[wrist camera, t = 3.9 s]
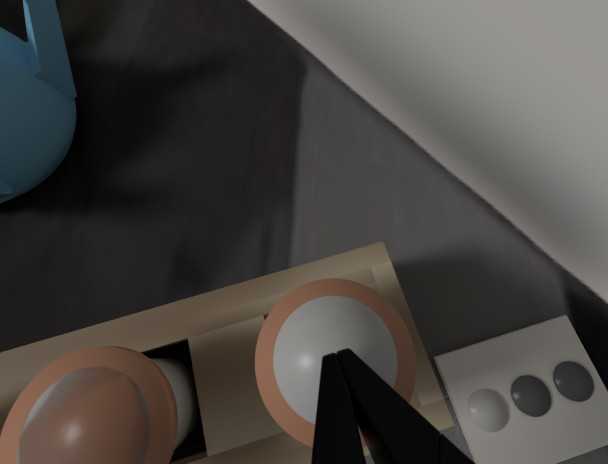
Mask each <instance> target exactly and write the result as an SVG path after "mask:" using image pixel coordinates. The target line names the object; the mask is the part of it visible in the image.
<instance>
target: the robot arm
mask: <svg viewBox="0 0 608 464" xmlns="http://www.w3.org/2000/svg"><path fill="white" fill-rule="evenodd" d="M358 427H359V428H358ZM359 429H360V432H361V434H362V436H363V439H364V441H365V443H366V445H367V448H368V450H369V452H370V454H371V456H372V458H373V461H374V463H375V464H475V463H474V462H473V461H472V460H471V459H470V458H469V457H467V456H466V455H465V454H464V453H463V452H462V451H461V450H459V449H458V448H457V447H456V446H455V445H454V444H453V443H452V442H451V441H449V440H448V439H447V438H446V437H445V436H444V435H443V434H440V432H439V431H438V430H437V429H436V428H435V427H434V426H433V425H432V424H431V423H430V422H429V421H428V420H427V419H425V418H424V417H423V416H422V415H421V414H420V413H419V412H418V411H417V410H416V409H415V408H414V407H413V406H411V405H410V404H409V403H408V402H407V401H406V400H405V399H404V398H403V397H402V396H401V395H400V394H398V393H397V392H396V391H395V390H394V389H393V388H392V387H391V386H390V385H389V384H388V383H387V382H385V381H384V380H383V379H382V378H381V377H380V376H379V375H378V374H377V373H376V372H375V371H374V370H373V369H371V368H370V367H369V366H368V365H367V364H366V363H365V362H364V361H363V360H362V359H361V358H360V357H358V356H357V355H356V354H355V353H354V352H353V351H352V350H351V349H349V348H345V349H342V350H339V351H337V352H336V353H334V352H333V353H330V354H326V355H324V356H323V357H322V362H321V372H320V382H319V391H318V401H317V411H316V420H315V430H314V440H313V449H312V459H311V464H366V460H365V456H364V451H363V446H362V442H361V437H360V433H359Z"/></svg>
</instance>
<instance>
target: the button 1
mask: <svg viewBox="0 0 608 464" xmlns="http://www.w3.org/2000/svg"><path fill="white" fill-rule="evenodd" d="M345 348H349V349H351V350H352V351H353V352H354V353H355V354H356V355H357V356H358V357H360V358H361V359H362V360H363V361H364V362H365V363H366V364H367V365H368V366H369V367H370V368H371V369H373V370H374V371H375V372H376V373H377V374H378V375H379V376H380V377H381V378H382V379H383V380H384V381H385V382H387V383H388V384H389V385H390V386H391V387H392V388H393V389H394V390H395V391H396V392H397V393H398V394H400V395H401V396H402V397H403V398H404V399H405V400H406V401H407V402H408V403H410V400H411V397H412V394H413V391H414V386H415V380H416V355H415V350H414V345H413V342H412V338H411V335H410V333H409V330H408V328H407V326H406V324H405V322H404V321H403V319H402V317H401V316H400V314H399V313H398V312H397V310H396V309H395V308H394V306H393V305H392V304H391V303H390V302H389V301H388V300H387V299H385V298H384V297H383V296H382V295H380V294H379V293H378V292H376V291H375V290H373V289H371V288H370V287H368V286H365V285H363V284H361V283H358V282H355V281H351V280H346V279H339V278H328V279H320V280H315V281H311V282H308V283H306V284H303V285H301V286H299V287H297V288H295V289H294V290H292V291H291V292H289V293H288V294H286V295H285V296H284V297H283V298H282V299H281V300H280V301H279V302H278V303H277V304H276V305H275V306H274V308H273V309H272V310H271V312H270V313H269V315H268V316H267V318H266V320H265V322H264V324H263V326H262V328H261V331H260V334H259V337H258V340H257V345H256V351H255V374H256V380H257V385H258V388H259V392H260V395H261V397H262V399H263V402H264V404H265V406H266V408H267V409H268V411H269V413H270V414H271V416H272V417H273V418H274V420H275V421H276V422H277V424H278V425H279V426H280V427H281V428H282V429H283V430H284V431H285V432H286V433H288V434H289V435H290V436H292V437H293V438H295V439H296V440H298V441H300V442H301V443H303V444H305V445H307V446H310V447H313V440H314V430H315V420H316V411H317V401H318V391H319V382H320V372H321V362H322V357H323V356H324V355H326V354H330V353H333V352H334V353H336V352H337V351H339V350H342V349H345ZM358 428H359V427H358ZM359 433H360V437H361V442H362V446H363V448H364V447H366V446H367V445H366V443H365V441H364V439H363V436H362V434H361V432H360V429H359Z"/></svg>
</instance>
